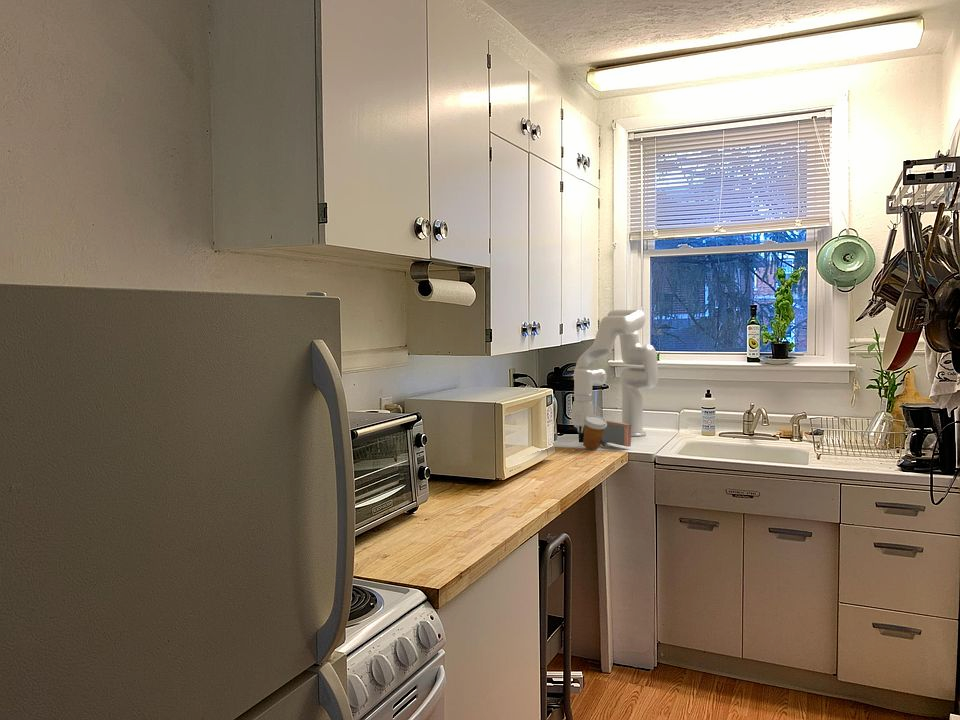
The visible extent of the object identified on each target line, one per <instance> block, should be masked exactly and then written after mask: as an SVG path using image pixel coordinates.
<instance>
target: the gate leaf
mask: <svg viewBox="0 0 960 720" xmlns="http://www.w3.org/2000/svg"><path fill="white" fill-rule="evenodd" d="M605 420H606V419H605ZM606 422H607V426H606V428H605V430H604V432H603V435H602V441H603V442H608V443H609V444H613V445H617V446H618V445H619V446H622V447H632V436H631V424H625V423H622V422H618V421H613V420H606Z"/></svg>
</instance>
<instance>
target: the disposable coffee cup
mask: <svg viewBox="0 0 960 720" xmlns="http://www.w3.org/2000/svg"><path fill="white" fill-rule="evenodd" d="M584 423H585V425H584V438H583V443H582V445H583V447H585V448H586V449H588V450H597V449H598V448H599V446H600V444H599V443H600V441H601V438H602V435H603V432H604V430H605V428H606V426H607V422H606V418H604V417H602V416H599V415H595V414H594V415H590V416H587V417H586V418H585V419H584Z"/></svg>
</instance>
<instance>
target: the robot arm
mask: <svg viewBox="0 0 960 720" xmlns="http://www.w3.org/2000/svg"><path fill="white" fill-rule="evenodd" d="M645 323H646V315H645V313H644V312H643V311H642V310H640V309H614V310H611V311H609V312H608V313H607V316H604V317H603V318H602V319H601V321H600V322H599V325H598V329H597V332H596V335H595V338H594V340H593V343H592V345H591V346H590V347H589V348H587V349H586V350H585V351H584V352H583V353H582V354H581V355H580V356H579V357H578V359H577V361H576V364H575V368H574V370H573V371H574V372H573V380H574V381H573V382H574V383H573V385H574V387H573V397H574V401H572V406H571V413H570V414H571V418H570V419H571V420H570V423H571V424H572V425H573V427H574V428H576V430H577V433H578V443H581V444H583V438H584V425H585V423H584V419H585V418H586V417H587V416H590V415H595V414H594V413H595V412H594V405H593V404H594V403H593V386H594V387H601V386H603V385H604V384H605V383H606V382H607V379H608V374H607V372H606V371H605V370H604V369H602V368H600V367H599V368H597V367H589V365H591V363H593V362H595V361H596V360H598V359H600V358H602V357H604V356H607V355H609V354H610V353H612V351H613V348H614V344H615V342H616V338H617V337H618V336H619V343H620V353H621V359H622V362H623V363H624V364H626V365H633V366H626V367H623V368H622V370H621V371H620V376H619V379H620V385H621V423H625V424H631V437H643V436H646V435H647V432H646V431H644V430H643V429H644V428H643V427H644V422H643V421H644V397H643V393H642V391H641V389H653V388H656V387H657V385H658V383H659V367H658V366H659V365H658V357H657V351H656V349H655V347H654V346H653V345H651V344H650V343H649V344H647V343H645V344H644V343H640V336H639V332H638V331H640V330H641V329H642V328H643V327H644V325H645ZM634 365H636V366H634ZM640 388H641V389H640Z"/></svg>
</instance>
